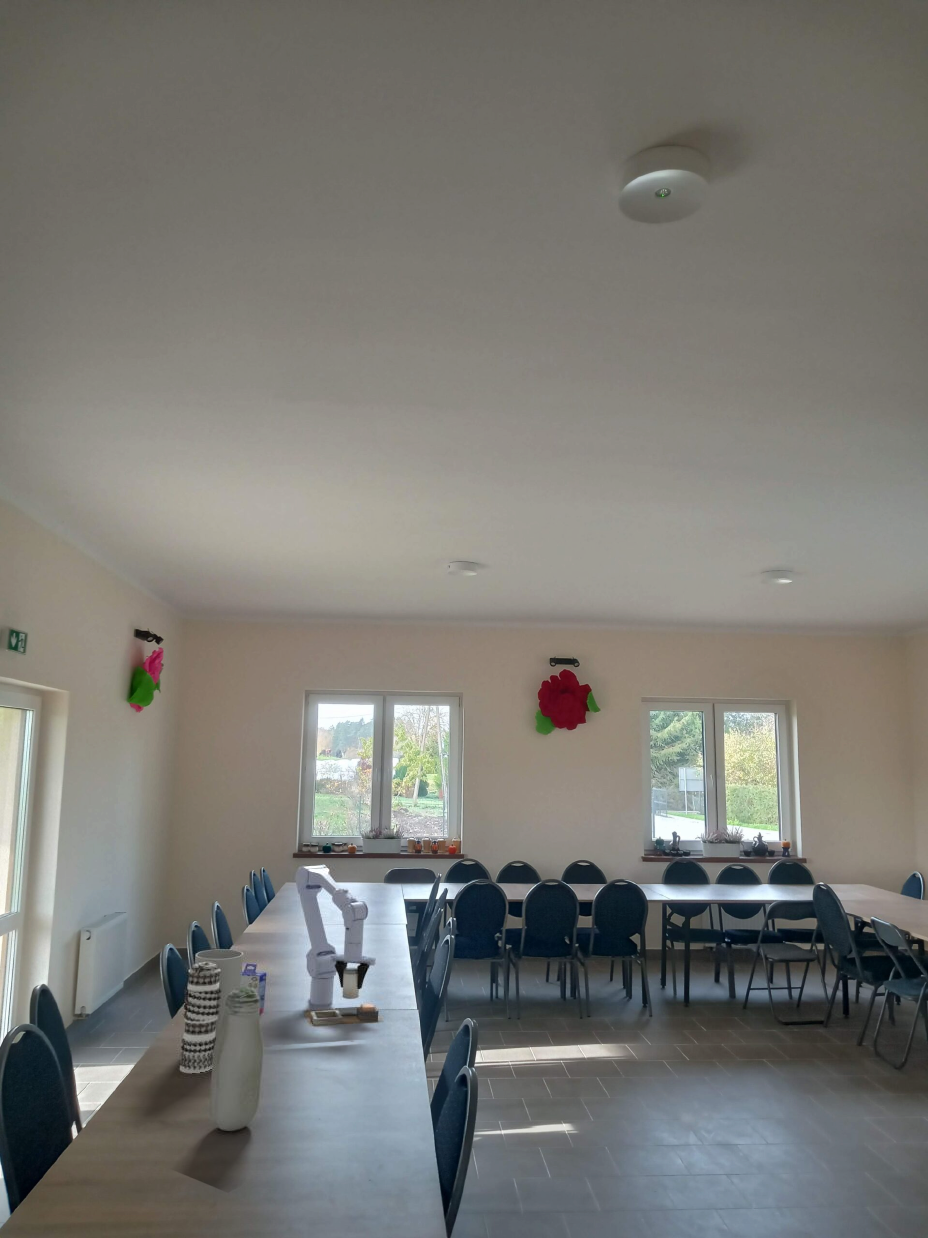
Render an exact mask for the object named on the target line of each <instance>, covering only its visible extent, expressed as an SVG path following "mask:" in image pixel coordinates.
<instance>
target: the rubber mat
mask: <svg viewBox="0 0 928 1238" xmlns="http://www.w3.org/2000/svg"><path fill="white" fill-rule="evenodd" d="M357 1007H358V1006H353V1007H352V1006H350V1007H349V1006H346V1007H335V1008H334V1009H335V1010H338V1011H339V1012H340V1014H341V1016H354V1015H356V1012H357Z"/></svg>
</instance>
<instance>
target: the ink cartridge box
mask: <svg viewBox="0 0 928 1238" xmlns="http://www.w3.org/2000/svg"><path fill="white" fill-rule="evenodd" d="M257 966H258V964H254V963H246V964H245V966H244V970H242V978H241V988H244V987H250V988H252V989H254V990H256V991H257V993H258V995H259V998H260V1011H259V1014H260V1013H263V1012H264V1011H265V1000H266V984H267V972H262V971H261V972H260V971H256V969H257ZM248 967H252V968H248Z"/></svg>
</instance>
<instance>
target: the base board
mask: <svg viewBox="0 0 928 1238" xmlns="http://www.w3.org/2000/svg"><path fill="white" fill-rule="evenodd" d="M356 1007H357V1012H356V1015H354V1016H341V1014H340V1012H339V1011H338V1010H335V1008H332V1009H331V1008H329V1009H312V1010H311V1009H310V1010H302V1012H303V1014H304V1016H305V1018H306V1021H307V1023H308V1025H309V1027H317V1026H319V1027H320V1026H333V1025H334V1026H335V1025H336V1026H337V1025H351V1024H354V1025H355V1024H370V1023H371V1024H372V1023H384V1021H383V1019H382V1017H380V1015H379V1010H378V1009H377V1007H376V1005H374V1007H375V1011H361V1006H356Z"/></svg>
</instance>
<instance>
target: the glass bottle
mask: <svg viewBox="0 0 928 1238" xmlns="http://www.w3.org/2000/svg"><path fill="white" fill-rule="evenodd" d="M259 1011H260V998H259V995H258V993H257V991H256V990H254V989H252V988H250V987H244V988H238V989H235V990H233V991H232V992H231V993H230V994H229V995H228V997H227V999H226V1001H225V1012H224V1015H223V1019H222V1023H221V1027H220V1030H219V1032H218V1035H217V1038H216V1042H215V1045H214V1051H213V1062H212V1070H211V1081H210V1094H209V1095H210V1097H209V1112H210V1113H209V1114H210V1118H211V1121H212V1122H213V1125H215V1127H217V1128H218V1129H220V1130H221V1131H226V1132H227V1131H228V1132H235V1131H238V1130H241V1129H243V1128H244V1127H246V1126H247V1125H249V1124H250V1123H251V1122H252V1121H253V1119H254V1118H255V1115H256V1114H257V1111H258V1107H259V1102H260V1093H261V1092H260V1091H261V1081H262V1080H261V1079H262V1078H261V1077H262V1069H263V1061H264V1059H263V1058H264V1040H263V1032H262V1026H261V1023H260V1013H259Z"/></svg>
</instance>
